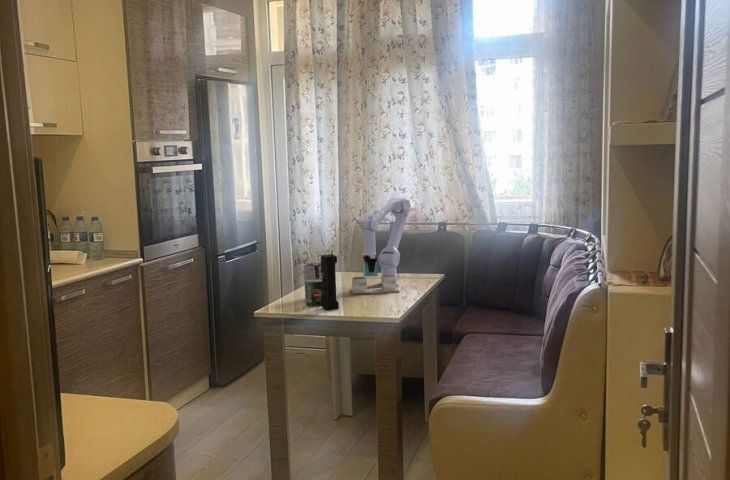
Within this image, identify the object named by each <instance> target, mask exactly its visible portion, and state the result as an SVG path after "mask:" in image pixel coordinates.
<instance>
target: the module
mask: <svg viewBox="0 0 730 480" xmlns="http://www.w3.org/2000/svg"><path fill="white" fill-rule="evenodd" d="M362 266H363V267H362V268H363V270H362V271H363V273H362V274H363V277H365V278H366V277H367V278H368V277H377V276H379V273H378V262H376V264H375V269H374V272H372V273H370V272H369V269H368V264H367V262H365V261H364V262H363V263H362Z"/></svg>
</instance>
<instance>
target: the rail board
mask: <svg viewBox="0 0 730 480" xmlns="http://www.w3.org/2000/svg"><path fill="white" fill-rule="evenodd" d="M396 276H397V275H396ZM396 276H394V275H383V276H380V278H381V280H382V285H381V287H377V288H368V287H367V284H368V283H367V282H368V281H367V278H366V277H365V276H354V277H352V278H351V280H352V281H351V283H352V284H351V286H352V289H351V290H349V293H350V294H351V295H352V296H353V297H355V296H365V295H366V296H370V295H381V294H395V293H397V294H398V293H400V289H398V288H397V285H396ZM381 280H380V281H381Z"/></svg>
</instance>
